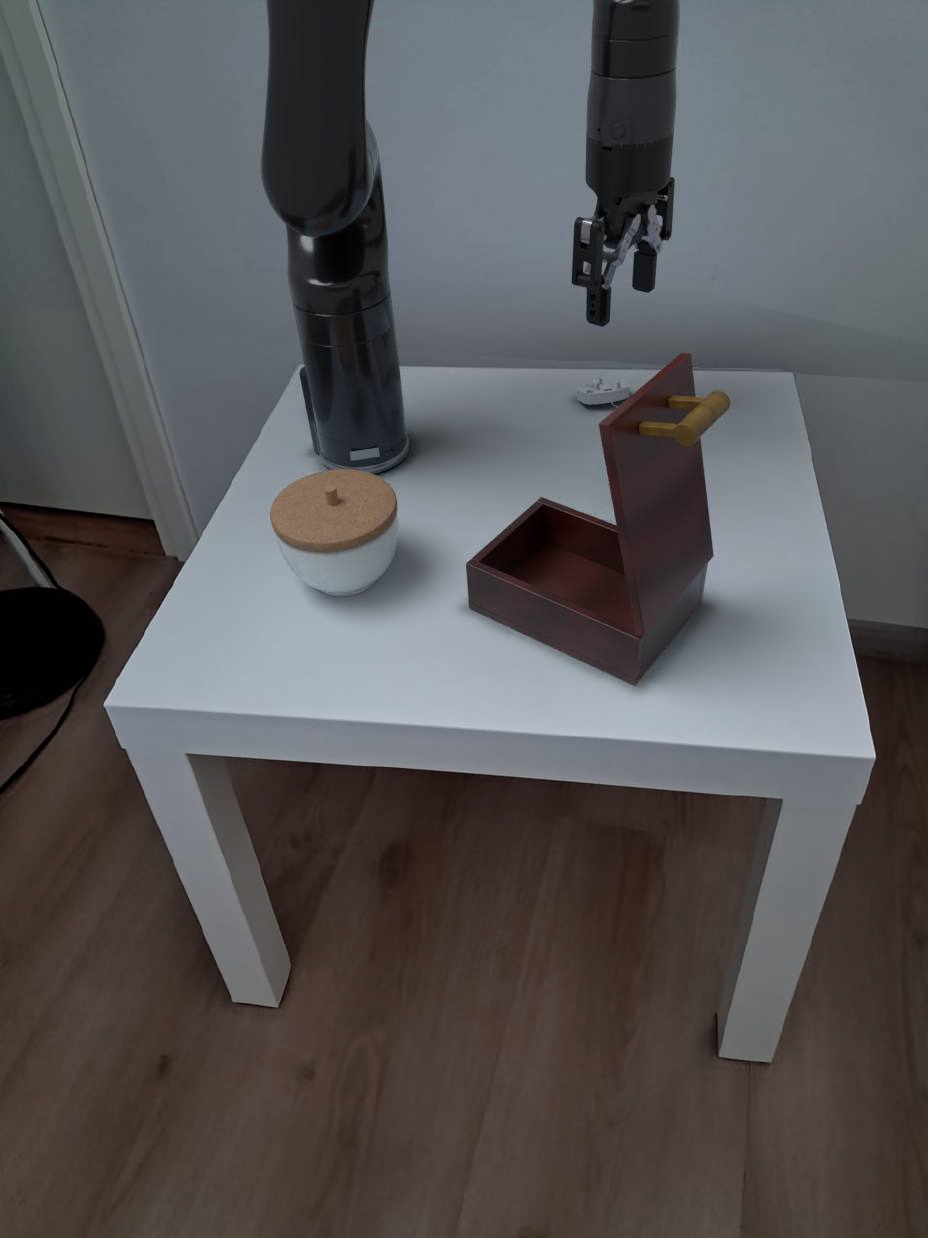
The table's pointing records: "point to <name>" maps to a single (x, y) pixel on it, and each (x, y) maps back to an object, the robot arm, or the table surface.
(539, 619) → the mahogany keepsake chest
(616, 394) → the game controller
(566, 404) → the table surface
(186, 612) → the table surface
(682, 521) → the cover
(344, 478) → the trinket box
